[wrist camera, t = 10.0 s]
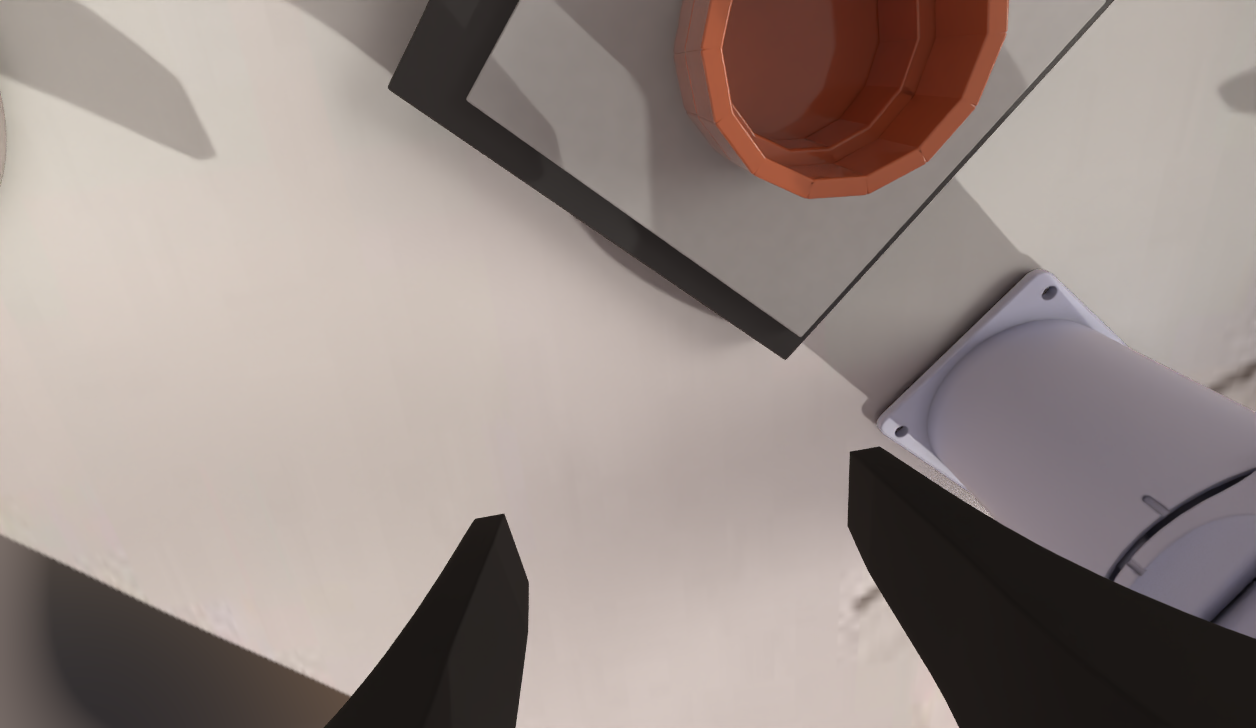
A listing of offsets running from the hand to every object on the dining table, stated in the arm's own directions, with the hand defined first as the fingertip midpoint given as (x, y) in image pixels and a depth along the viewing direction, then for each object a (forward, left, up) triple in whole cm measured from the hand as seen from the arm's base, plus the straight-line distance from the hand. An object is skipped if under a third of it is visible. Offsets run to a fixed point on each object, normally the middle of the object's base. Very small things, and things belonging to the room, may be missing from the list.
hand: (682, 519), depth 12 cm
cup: (+2, -9, -7) cm, 11 cm away
